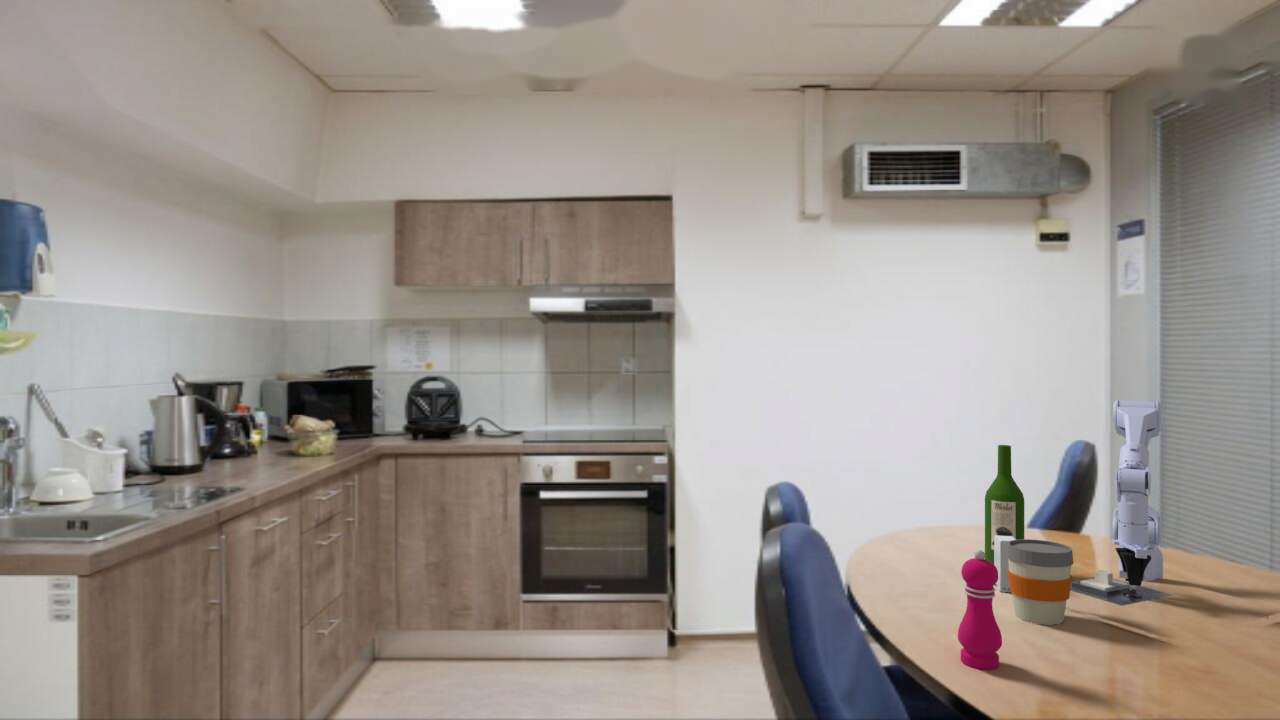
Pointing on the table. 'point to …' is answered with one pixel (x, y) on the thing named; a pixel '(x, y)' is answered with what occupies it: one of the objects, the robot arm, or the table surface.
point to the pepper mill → (979, 615)
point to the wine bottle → (1003, 505)
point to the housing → (1118, 593)
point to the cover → (1101, 581)
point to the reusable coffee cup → (1039, 579)
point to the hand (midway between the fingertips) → (1133, 583)
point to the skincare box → (1002, 562)
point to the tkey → (1131, 587)
